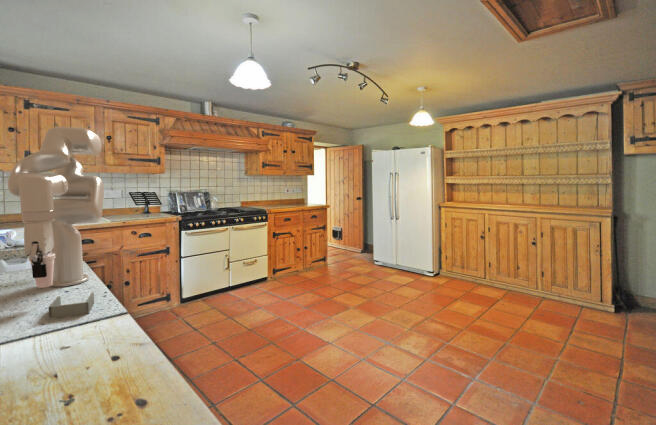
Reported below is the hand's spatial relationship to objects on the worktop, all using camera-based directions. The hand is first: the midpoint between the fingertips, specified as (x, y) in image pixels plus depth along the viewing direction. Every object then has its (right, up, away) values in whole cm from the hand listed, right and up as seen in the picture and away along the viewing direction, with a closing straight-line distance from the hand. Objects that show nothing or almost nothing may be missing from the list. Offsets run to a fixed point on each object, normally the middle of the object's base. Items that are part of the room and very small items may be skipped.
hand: (43, 273), depth 104 cm
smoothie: (0, -4, +1) cm, 4 cm away
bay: (+11, -11, -2) cm, 16 cm away
